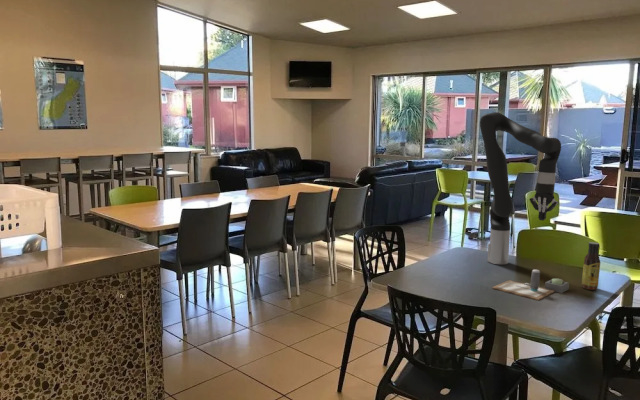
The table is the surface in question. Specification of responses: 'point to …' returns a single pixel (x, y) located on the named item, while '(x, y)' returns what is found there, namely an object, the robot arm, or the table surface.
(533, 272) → the cylinder
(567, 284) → the button housing
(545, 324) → the table surface
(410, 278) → the table surface
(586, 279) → the sauce bottle
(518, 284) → the clipboard
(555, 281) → the button
